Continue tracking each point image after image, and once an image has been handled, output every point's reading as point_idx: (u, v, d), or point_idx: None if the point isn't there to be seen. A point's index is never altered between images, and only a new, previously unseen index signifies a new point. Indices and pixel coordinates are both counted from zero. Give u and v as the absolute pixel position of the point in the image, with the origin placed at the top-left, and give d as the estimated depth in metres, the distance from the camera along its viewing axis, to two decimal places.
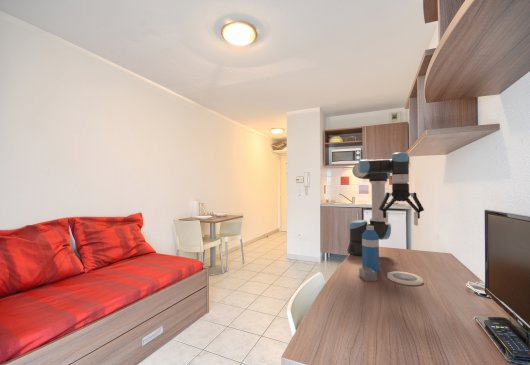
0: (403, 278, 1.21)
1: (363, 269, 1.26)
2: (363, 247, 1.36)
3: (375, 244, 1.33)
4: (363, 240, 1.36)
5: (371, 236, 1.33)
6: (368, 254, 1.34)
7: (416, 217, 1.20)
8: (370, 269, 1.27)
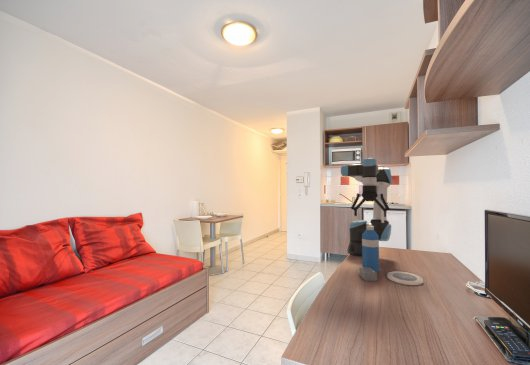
0: (403, 278, 1.21)
1: (363, 269, 1.26)
2: (363, 247, 1.36)
3: (375, 244, 1.33)
4: (363, 240, 1.36)
5: (371, 236, 1.33)
6: (368, 254, 1.34)
7: (382, 215, 1.35)
8: (370, 269, 1.27)
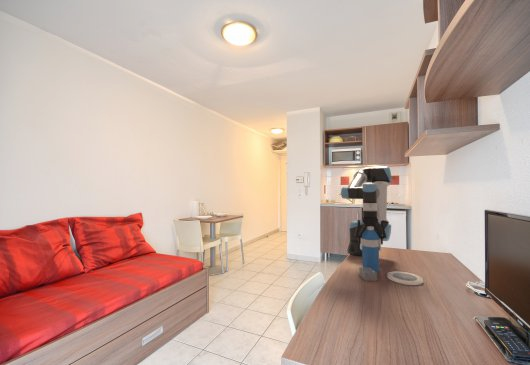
0: (403, 278, 1.21)
1: (363, 269, 1.26)
2: (363, 247, 1.36)
3: (375, 244, 1.33)
4: (363, 240, 1.36)
5: (371, 236, 1.33)
6: (368, 254, 1.34)
7: (379, 243, 1.35)
8: (370, 269, 1.27)
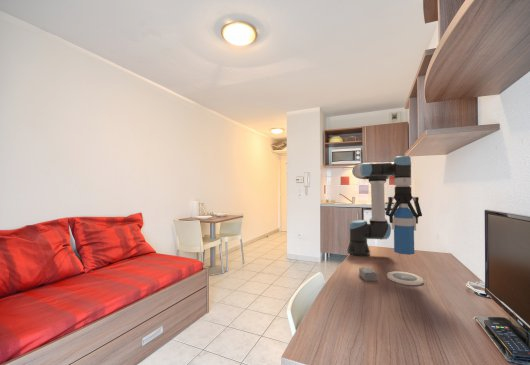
0: (403, 278, 1.21)
1: (363, 269, 1.26)
2: (396, 227, 1.23)
3: (410, 223, 1.19)
4: (396, 219, 1.23)
5: (405, 214, 1.20)
6: (402, 234, 1.20)
7: (414, 222, 1.21)
8: (370, 269, 1.27)
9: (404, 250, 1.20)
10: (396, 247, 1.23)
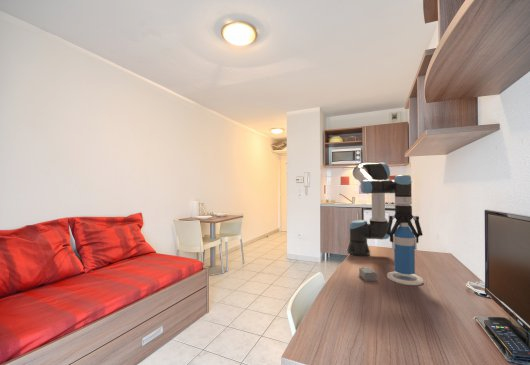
0: (403, 278, 1.21)
1: (363, 269, 1.26)
2: (396, 246, 1.23)
3: (410, 242, 1.19)
4: (396, 238, 1.23)
5: (406, 233, 1.20)
6: (402, 253, 1.20)
7: (415, 242, 1.21)
8: (370, 269, 1.27)
9: (405, 270, 1.19)
10: (396, 266, 1.22)
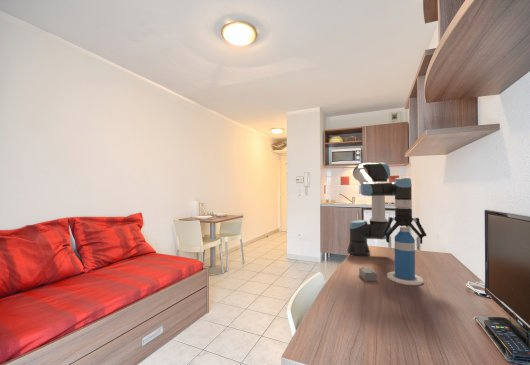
0: None
1: (363, 269, 1.26)
2: (397, 251, 1.23)
3: (411, 247, 1.19)
4: (397, 243, 1.23)
5: (406, 239, 1.20)
6: (402, 258, 1.20)
7: (419, 242, 1.21)
8: (370, 269, 1.27)
9: (405, 275, 1.19)
10: (397, 271, 1.22)
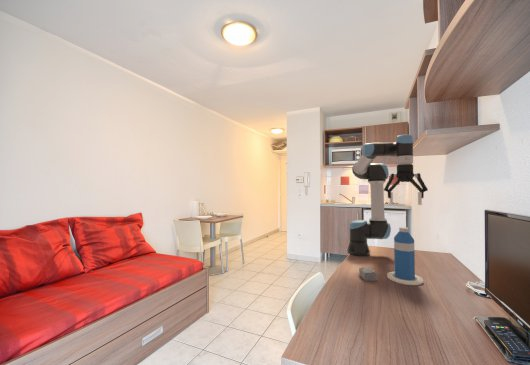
0: None
1: (363, 269, 1.26)
2: (396, 251, 1.23)
3: (410, 248, 1.19)
4: (396, 243, 1.23)
5: (406, 239, 1.20)
6: (402, 259, 1.20)
7: (420, 197, 1.24)
8: (370, 269, 1.27)
9: (405, 275, 1.19)
10: (397, 272, 1.22)
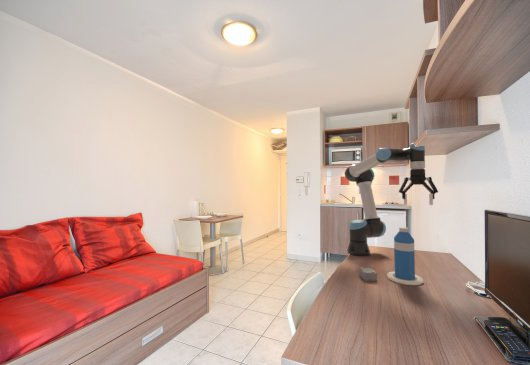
0: None
1: (363, 269, 1.26)
2: (396, 251, 1.23)
3: (410, 248, 1.19)
4: (396, 243, 1.23)
5: (406, 239, 1.20)
6: (402, 259, 1.20)
7: (431, 198, 1.40)
8: (370, 269, 1.27)
9: (405, 275, 1.19)
10: (397, 272, 1.22)
